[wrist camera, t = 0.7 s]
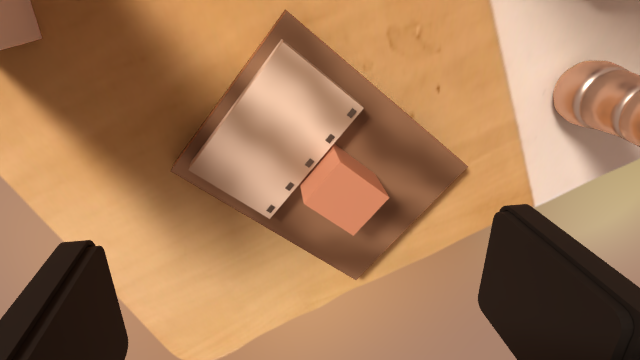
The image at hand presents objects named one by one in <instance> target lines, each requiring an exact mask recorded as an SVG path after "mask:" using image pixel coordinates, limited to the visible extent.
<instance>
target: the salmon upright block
mask: <svg viewBox="0 0 640 360" xmlns="http://www.w3.org/2000/svg"><path fill="white" fill-rule="evenodd" d="M300 188H301V193H302V197H303V202H304V204H305V205H306V206H308V207H309V208H311V209H313V210H314V211H316V212H317V213H319V214H320V215H322V216H323V217H325V218H327V219H328V220H330V221H331V222H333V223H334V224H336V225H337V226H339V227H341V228H342V229H344V230H345V231H347V232H348V233H350V234H351V235H353V236H354V235H355V234H356V233H357V232H358V231H359V229H360V228H361V227H362V226H363V225H364V224H365V223H366V222H367V221H368V220H369V219H370V218H371V217H372V216H373V215H374V214H375V213H376V211H377V210H378V209H379V208H380V207H381V206H382V205H383V204H384V203H385V202H386V201H387V200H388V199H389V196H388V194H387V193H386V191H385V189H384V188H383V186H382V185H381V183H380V181H379V180H378V178H377V176H376V175H375V174H374V173H373V172H372V171H370V170H369V169H368V168H366V167H365V166H364V165H362V164H361V163H360V162H358V161H357V160H356V159H354V158H353V157H352V156H350V155H349V154H348V153H346V152H345V151H343V150H342V149H341V148H339V147H338V146H337V145H335V144H333V145H332V146H331V147H330V149H329V150H328V151H327V152H326V153H325V154H324V156H323V157H322V158H321V159H320V160H319V162H318V163H317V164H316V165H315V166H314V167H313V169H312V170H311V171H310V172H309V173H308V174H307V176H306V177H305V178H304V179H303V180H302V182H301V183H300Z"/></svg>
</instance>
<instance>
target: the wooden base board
mask: <svg viewBox="0 0 640 360" xmlns="http://www.w3.org/2000/svg"><path fill="white" fill-rule="evenodd" d="M333 144H335V145H337V146H338V147H339V148H341V149H342V150H343V151H345V152H346V153H348V154H349V155H350V156H352V157H353V158H354V159H356V160H357V161H358V162H360V163H361V164H362V165H364V166H365V167H366V168H368V169H369V170H370V171H372V172H373V173H374V174H375V175H376V176H377V178H378V180H379V181H380V183H381V185H382V186H383V188H384V189H385V191H386V193H387V194H388V196H389V199H388V200H387V201H386V202H385V203H384V204H383V205H382V206H381V207H380V208H379V209H378V210H377V211H376V213H375V214H374V215H373V216H372V217H371V218H370V219H369V220H368V221H367V222H366V223H365V224H364V225H363V226H362V227H361V228H360V229H359V231H358V232H357V233H356V234H355V235H354V236H353V235H351V234H350V233H348V232H347V231H345V230H344V229H342V228H341V227H339V226H337V225H336V224H334V223H333V222H331V221H330V220H328V219H327V218H325V217H323V216H322V215H320V214H319V213H317V212H316V211H314V210H313V209H311V208H309V207H308V206H306V205H305V204H304V202H303V197H302V193H301V188H300V183H301V182H302V180H303V179H304V178H305V177H306V176H307V174H308V173H309V172H310V171H311V170H312V169H313V167H314V166H315V165H316V164H317V163H318V162H319V160H320V159H321V158H322V157H323V156H324V154H325V153H326V152H327V151H328V150H329V149H330V147H331V146H332V145H333ZM467 167H468V166H467V165H466V164H464V163H463V162H462V161H461V160H460V159H459V158H458V157H457V156H455V155H454V154H453V153H452V152H451V151H450V150H448V149H447V148H446V147H445V146H444V145H443V144H441V143H440V142H439V141H438V140H437V139H436V138H434V137H433V136H432V135H431V134H430V133H429V132H427V131H426V130H425V129H424V128H423V127H422V126H420V125H419V124H418V123H417V122H416V121H415V120H413V119H412V118H411V117H410V116H409V115H408V114H406V113H405V112H404V111H403V110H402V109H401V108H399V107H398V106H397V105H396V104H395V103H394V102H392V101H391V100H390V99H389V98H388V97H387V96H385V95H384V94H383V93H382V92H381V91H380V90H378V89H377V88H376V87H375V86H374V85H373V84H371V83H370V82H369V81H368V80H367V79H366V78H365V77H363V76H362V75H361V74H360V73H359V72H358V71H356V70H355V69H354V68H353V67H352V66H351V65H349V64H348V63H347V62H346V61H345V60H344V59H342V58H341V57H340V56H339V55H338V54H337V53H335V52H334V51H333V50H332V49H331V48H330V47H328V46H327V45H326V44H325V43H324V42H323V41H321V40H320V39H319V38H318V37H317V36H316V35H314V34H313V33H312V32H311V31H310V30H309V29H307V28H306V27H305V26H304V25H303V24H302V23H300V22H299V21H298V20H297V19H296V18H295V17H293V16H292V15H291V14H290V13H289V12H288V11H286V10H285V11H284V12H283V13H282V15H281V16H280V18H279V19H278V20H277V22H276V23H275V24H274V26H273V27H272V29H271V30H270V31H269V33H268V34H267V36H266V37H265V38H264V40H263V41H262V42H261V44H260V45H259V47H258V48H257V49H256V51H255V52H254V53H253V55H252V56H251V58H250V59H249V60H248V62H247V63H246V65H245V66H244V67H243V69H242V70H241V71H240V73H239V74H238V76H237V77H236V78H235V80H234V81H233V83H232V84H231V85H230V87H229V88H228V89H227V91H226V92H225V94H224V95H223V96H222V98H221V99H220V100H219V102H218V103H217V105H216V106H215V107H214V109H213V110H212V112H211V113H210V114H209V116H208V117H207V118H206V120H205V121H204V123H203V124H202V125H201V127H200V128H199V129H198V131H197V132H196V134H195V135H194V136H193V138H192V139H191V141H190V142H189V143H188V145H187V146H186V147H185V149H184V150H183V152H182V153H181V154H180V156H179V157H178V159H177V160H176V161H175V163H174V165H173V167H172V169H171V172H173V173H175V174H176V175H178V176H180V177H182V178H183V179H185V180H187V181H188V182H190V183H192V184H193V185H195V186H197V187H199V188H200V189H202V190H204V191H205V192H207V193H209V194H210V195H212V196H214V197H216V198H217V199H219V200H221V201H222V202H224V203H226V204H227V205H229V206H231V207H233V208H234V209H236V210H238V211H239V212H241V213H243V214H244V215H246V216H248V217H250V218H251V219H253V220H255V221H256V222H258V223H260V224H261V225H263V226H265V227H267V228H268V229H270V230H272V231H273V232H275V233H277V234H278V235H280V236H282V237H283V238H285V239H287V240H289V241H290V242H292V243H294V244H295V245H297V246H299V247H300V248H302V249H304V250H306V251H307V252H309V253H311V254H312V255H314V256H316V257H317V258H319V259H321V260H323V261H324V262H326V263H328V264H329V265H331V266H333V267H334V268H336V269H338V270H340V271H341V272H343V273H345V274H346V275H348V276H350V277H351V278H353V279H355V280H357V279H358V278H359V277H360V276H361V275H362V274H363V273H364V272H365V271H366V270H367V269H368V268H369V267H370V266H371V265H372V264H373V262H374V261H375V260H376V259H377V258H378V257H379V256H380V255H381V254H382V253H383V252H384V251H385V250H386V249H387V248H388V247H389V246H390V245H391V244H392V243H393V242H394V241H395V240H396V239H397V238H398V237H399V236H400V235H401V234H402V233H403V232H404V231H405V230H406V229H407V228H408V227H409V226H410V225H411V224H412V223H413V222H414V221H415V220H416V219H417V218H418V217H419V216H420V215H421V214H422V213H423V212H424V211H425V210H426V209H427V208H428V207H429V206H430V205H431V204H432V203H433V202H434V201H435V200H436V199H437V198H438V197H439V196H440V195H441V194H442V193H443V192H444V191H445V190H446V189H447V188H448V187H449V186H450V185H451V184H452V183H453V182H454V181H455V180H456V179H457V178H458V176H459V175H460V174H461V173H462V172H463V171H464V170H465V169H466V168H467Z"/></svg>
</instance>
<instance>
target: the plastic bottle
mask: <svg viewBox="0 0 640 360" xmlns="http://www.w3.org/2000/svg"><path fill="white" fill-rule="evenodd" d="M553 99H554V106H555V109H556V110H557V112H558V113H559V114H560V115H561V116H562V117H564V118H565V119H566V120H567V121H569V122H570V123H572V124H575V125H579V126H583V127H587V128H592V129H598V130H601V131H604V132H607V133H610V134H613V135H616V136H619V137H621V138H623V139H625V140H627V141H629V142H631V143H633V144H635V145H637V146H639V147H640V75H637V74H635V73H632V72H630V71H628V70H626V69H625V68H623V67H621V66H619V65H617V64H614V63H612V62H608V61H590V60H589V61H584V62H581V63H578V64H576V65H575V66H573V67H571V68H570V69H568V70H567V71H566V72H565V73H564V74H563V75H562V76H561V77H560V78H559V80H558V81H557V83H556V85H555V88H554V93H553Z"/></svg>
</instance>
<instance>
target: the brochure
mask: <svg viewBox="0 0 640 360" xmlns="http://www.w3.org/2000/svg"><path fill="white" fill-rule="evenodd" d="M39 39H42V36H41V33H40V30H39V26H38V23H37V20H36V17H35V14H34V11H33V8H32V4H31V1H30V0H0V50H3V49H7V48H11V47H14V46H18V45H21V44H25V43H29V42H32V41H36V40H39Z"/></svg>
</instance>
